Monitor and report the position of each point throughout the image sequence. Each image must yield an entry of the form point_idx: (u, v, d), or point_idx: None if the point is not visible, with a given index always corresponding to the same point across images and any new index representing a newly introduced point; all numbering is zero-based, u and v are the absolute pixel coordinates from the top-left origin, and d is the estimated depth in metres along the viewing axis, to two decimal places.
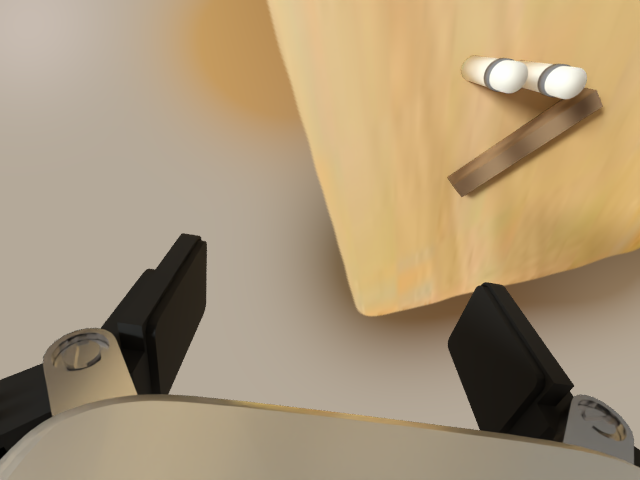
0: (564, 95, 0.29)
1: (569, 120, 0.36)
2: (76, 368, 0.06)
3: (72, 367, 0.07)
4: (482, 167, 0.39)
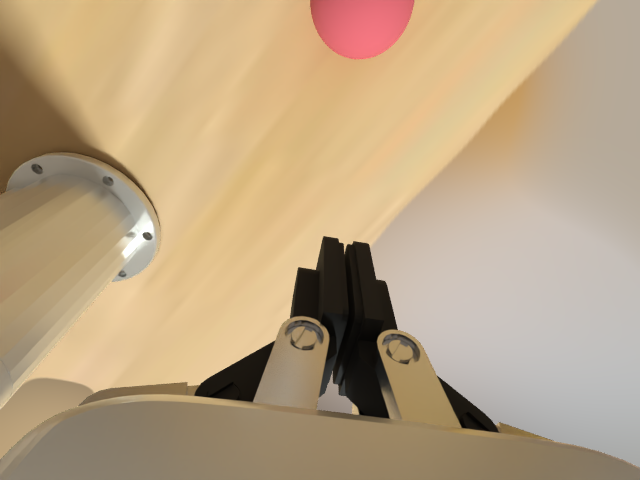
0: None
1: None
2: (295, 345, 0.08)
3: (293, 343, 0.08)
4: None
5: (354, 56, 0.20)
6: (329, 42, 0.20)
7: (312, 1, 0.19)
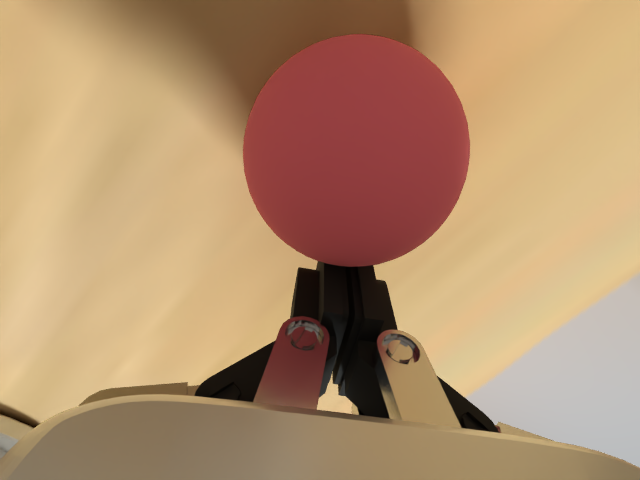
0: None
1: None
2: (295, 345, 0.08)
3: (293, 343, 0.08)
4: None
5: (376, 207, 0.07)
6: (301, 177, 0.07)
7: (249, 124, 0.08)
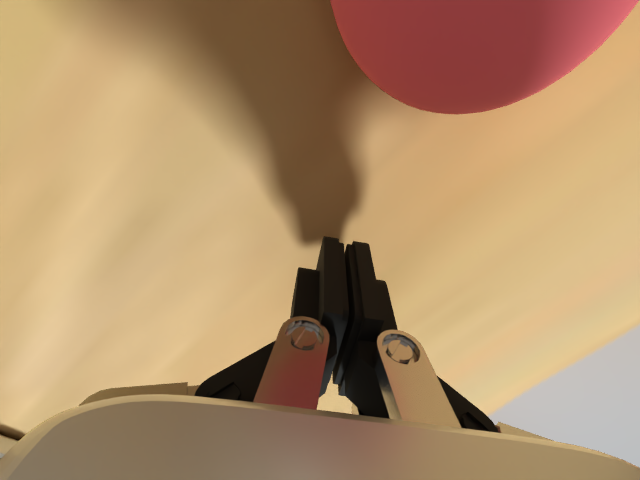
0: None
1: None
2: (295, 345, 0.08)
3: (293, 343, 0.08)
4: None
5: None
6: None
7: None
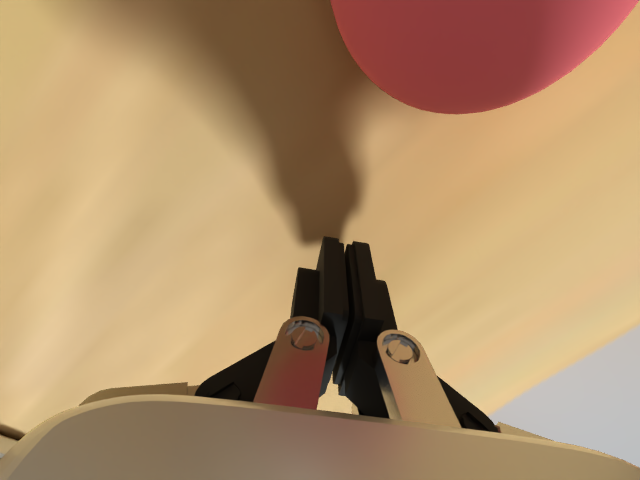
0: None
1: None
2: (295, 345, 0.08)
3: (293, 343, 0.08)
4: None
5: None
6: None
7: None
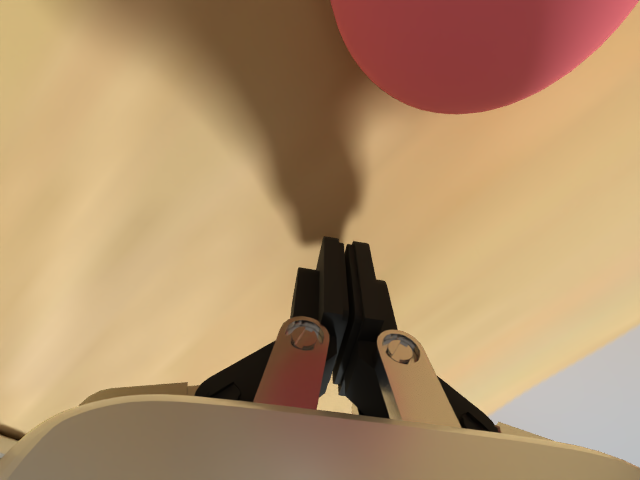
0: None
1: None
2: (295, 345, 0.08)
3: (293, 343, 0.08)
4: None
5: None
6: None
7: None
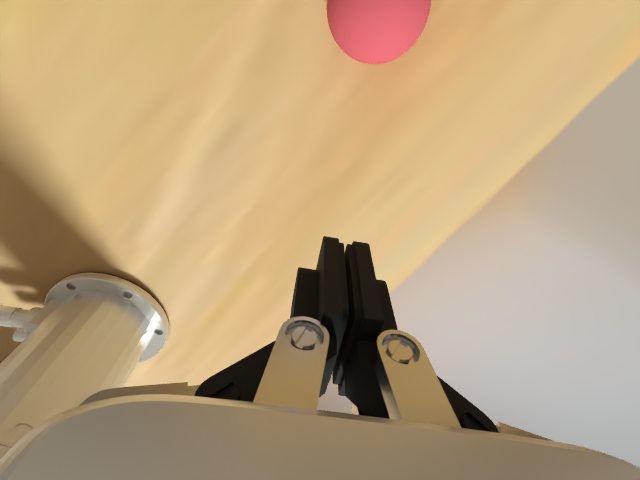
0: None
1: None
2: (295, 345, 0.08)
3: (293, 343, 0.08)
4: None
5: None
6: None
7: None
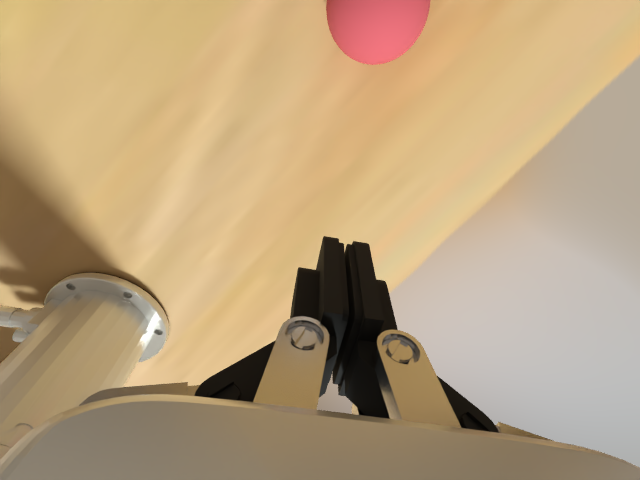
0: None
1: None
2: (295, 345, 0.08)
3: (293, 343, 0.08)
4: None
5: None
6: None
7: None
